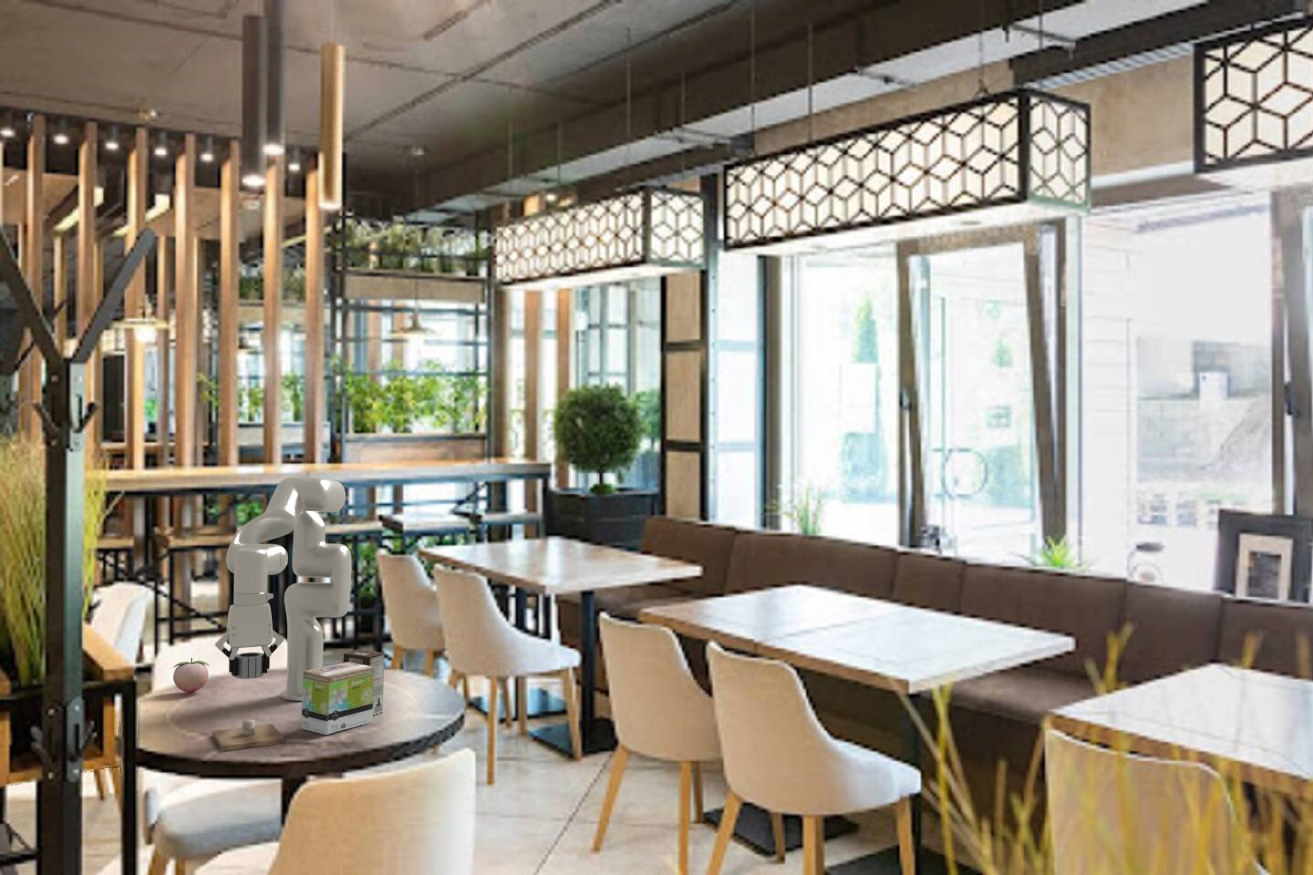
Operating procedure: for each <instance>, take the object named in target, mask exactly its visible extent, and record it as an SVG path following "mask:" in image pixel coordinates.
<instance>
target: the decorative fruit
mask: <svg viewBox="0 0 1313 875" xmlns="http://www.w3.org/2000/svg"><path fill="white" fill-rule="evenodd" d="M206 665H207V666H208V667H210V664H209V663H207V662H206V661H203V660H194V661H193V657H191V658H190V662H189V661H181V662H179V663H176V664H175V665H174V666H173V667H172V669H173V668H175V669H174V672H173V674H172V675H173V676H172V679H173V683H174V685H175V686H176V688H178V689H179V690H181V691H183V692H185V693H188V694H189V695H190V694H193V693H196V692H197V691H199V690H200V689H202V688H203V687H205V685H206V684H207V682H208V679H209V670H208V667H207V666H206Z"/></svg>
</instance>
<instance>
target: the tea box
mask: <svg viewBox="0 0 1313 875" xmlns="http://www.w3.org/2000/svg"><path fill="white" fill-rule="evenodd" d="M373 684H374V667H371V666H367V665H362V664H357V663H352V662H346V663H343V662H341V663H336V664H332V665H328V666H323V667H322V668H317V669H312V670H307V671H304V674H303V695H302V701H301V719H300V720H301V723H300V724H301V726H300V728H301V729H303V730H306V731H309V732H312V733H317V734H320V735H325V736H328V735H331V734H334V733H338V732H341V731H344V730H348V729H352V728H355V727H360V725H361V726H364V724H365V725H369V724H372V723H373V717H374V716H373Z"/></svg>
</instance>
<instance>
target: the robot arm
mask: <svg viewBox="0 0 1313 875" xmlns="http://www.w3.org/2000/svg"><path fill="white" fill-rule="evenodd" d="M345 503H346V490H345V487H344V485H343V484H342V483H341V482H339V481H337V480H332V479H329V478H322V477H302V476H301V477H299V476H298V477H287V478H286V477H285V478H283V479H282V480H281V481H280V482H279V483H278V484H277V485H276V488H275V490H274V492H273V494H272V496H271V498H270V501H269V503H268V505H267V507H266V509H265V511H264V513H262V514H260V515H258V516H257V517H255V518H253V519H251V520H250V521H249V522H247V523H245V524H244V525H242V526H241V527H240V528H239V529H238V530H237V531H236V532H235V534H234V536H233V538H232V540H231V542H230V544H229V547H228V548H227V551H226V554H225V557H226V558H225V564H226V567H227V569H228V570H229V572H231V573H233V575H234V576H233V604H231V605H230V606H229V609H228V614H227V621H226V633H224V634H223V635H222V636H221V637H220V638H219V639H218V640H217V641H216V642H215V643H214V646H215V647H216V648H217V649H218V650H219V651H220V652H221V653H222V654H223V655H225V657H227V658H228V673H231V676H232V677H235V676H237V660H236V657H235V656H236V655H237V654H238V651H239V649H243V648H257V647H258V648H259V647H260V648H261V649H262V653H263V654H264V674H268V670H269V669H270V666H271V664H270V663H271V662H270V660H271V656H272V654H273V653H274V652H275V651H277V649H278V648H279V647H280V645H281V644H283V642H285V641H284V640H285V639H284V638H283V636H281V635H279V634H278V633H277V632H276V631H275V630H274V628H273V618H272V616H273V615H272V610H271V609H272V608H271V606H270V603H269V600H274V593H270V592H269V591H268V576H270V575H271V576H273V575H278V574H280V573H282V572H283V571H284V570H285V569H286V566H287V565H288V561H289V558H288V552H287V550H286V549H285V548H284V547H283V546H282V545H279V544H275V543H264V542H267V541H270V540H271V541H272V540H274V539H278V538H280V537H283V536H286V535H288V534H290V533H292V532H293V540H292V541H293V542H292V560H291V564H292V571H293V573H294V574H295V575H296V576H298V577H302V578H327V579H328V578H329V579H331V582H318V581H317V582H313V581H311V582H310V581H303V582H301V581H299V582H296V583H293V584H291V585H289V586H288V587H287V588H286V590H285V592H284V597H283V598H284V601H283V602H284V607H285V608H284V610H285V613H286V614H285V615H286V623H287V641H286V642H287V645H286V647H287V648H286V649H287V651H286V652H287V653H286V657H287V659H286V668H287V669H286V688H285V689H284V690H282V691H281V692H280V697H281V698H282V699H283V700H286V701H291V702H292V701H293V702H295V701H296V702H302V695H303V674H304V671H307V670H312V669H317V668H322V667H324V630H323V628H322V626H321V624H320V622H318V620H317V619H316V618H342V617H344V616H345V615H347V613H348V611H349V608H350V602H351V585H352V554H351V551H350V549H349V548H348V546H346V545H345V544H341V543H326V529H327V528H326V523H325V521H324V519H323V518H322V516H321V515H320V513H337V512H339V511H340V510H342V508H343V507H344V506H345ZM273 638H274V639H275V640H274V642H273ZM272 642H273V643H272ZM225 643H226V644H227V645H229V647H230V648H229V649H228V648H226V647H225V645H224V644H225ZM269 645H270V646H269Z"/></svg>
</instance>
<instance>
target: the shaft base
mask: <svg viewBox="0 0 1313 875" xmlns="http://www.w3.org/2000/svg"><path fill="white" fill-rule="evenodd" d="M241 723H242V726H241V727H235V728H226V729H216V730H212V733H211V734H212V735H211V737H212V738H213V740H214V741H215V742H216V743H217V745H218V747H219V748H220V749H221V751H222V752H227V751H235V750H242V749H249V748H257V747H266V746H274V745H281V744H285V743H286V738H285V736H284V735H283V734H282V733H281V732H280V731H279V729H278V728H277V727H276V726H275V725H274V724H273V723H270V724H269V723H267V724H260V725H259V724H258V725H256V724H255V723H256V722H255V720H254V719H246V720H245V719H244V720H242V721H241Z"/></svg>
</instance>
